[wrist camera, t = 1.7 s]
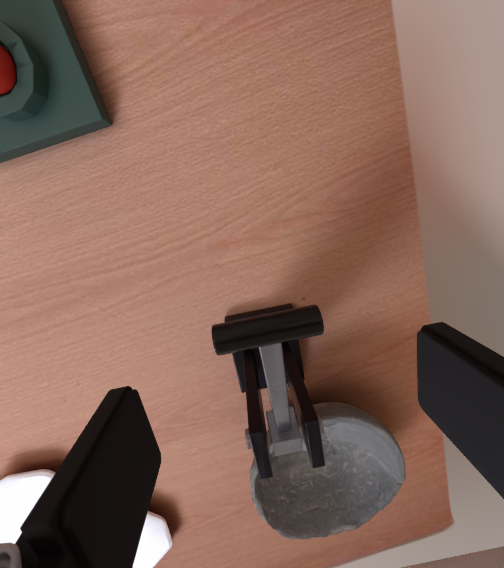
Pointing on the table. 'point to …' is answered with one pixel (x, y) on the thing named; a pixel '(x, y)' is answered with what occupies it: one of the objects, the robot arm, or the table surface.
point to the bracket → (255, 380)
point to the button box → (45, 80)
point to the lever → (272, 361)
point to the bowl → (331, 477)
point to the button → (6, 72)
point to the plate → (27, 490)
